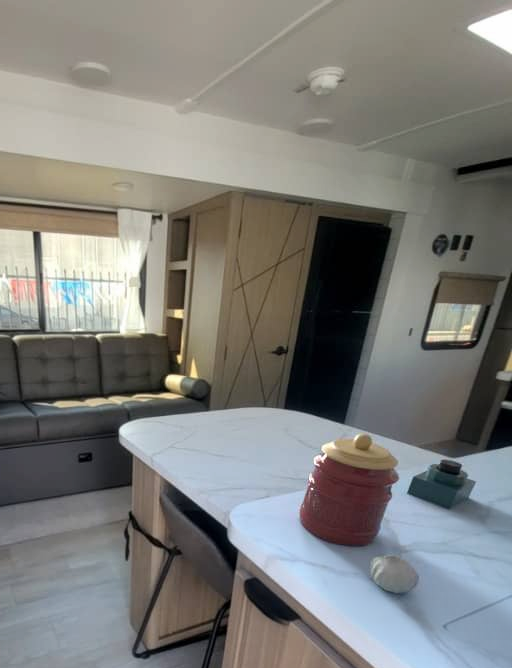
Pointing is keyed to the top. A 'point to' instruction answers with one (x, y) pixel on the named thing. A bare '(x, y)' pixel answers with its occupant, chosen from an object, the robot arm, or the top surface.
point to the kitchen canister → (349, 491)
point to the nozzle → (450, 467)
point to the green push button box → (441, 487)
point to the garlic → (393, 574)
